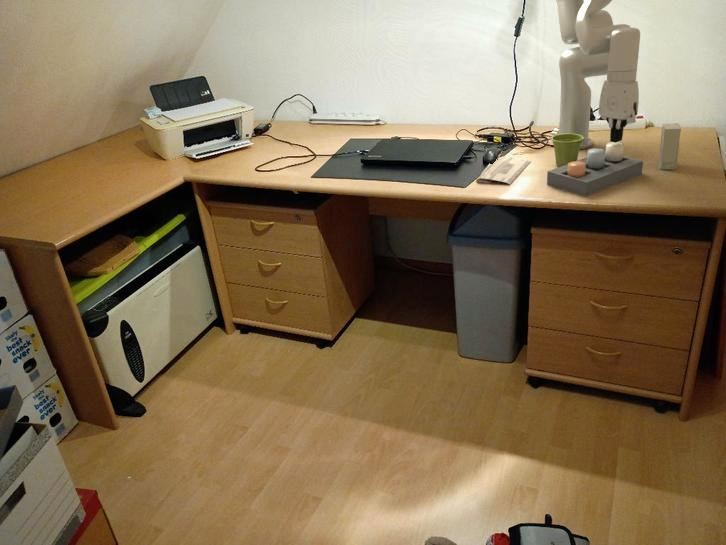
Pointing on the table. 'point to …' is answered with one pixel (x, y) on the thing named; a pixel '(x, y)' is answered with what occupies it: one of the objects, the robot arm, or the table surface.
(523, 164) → the newspaper
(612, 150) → the cream white egg
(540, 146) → the table surface
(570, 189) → the grey egg holder
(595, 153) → the pale blue egg
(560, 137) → the plant pot
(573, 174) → the light brown oval
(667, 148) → the skincare box
